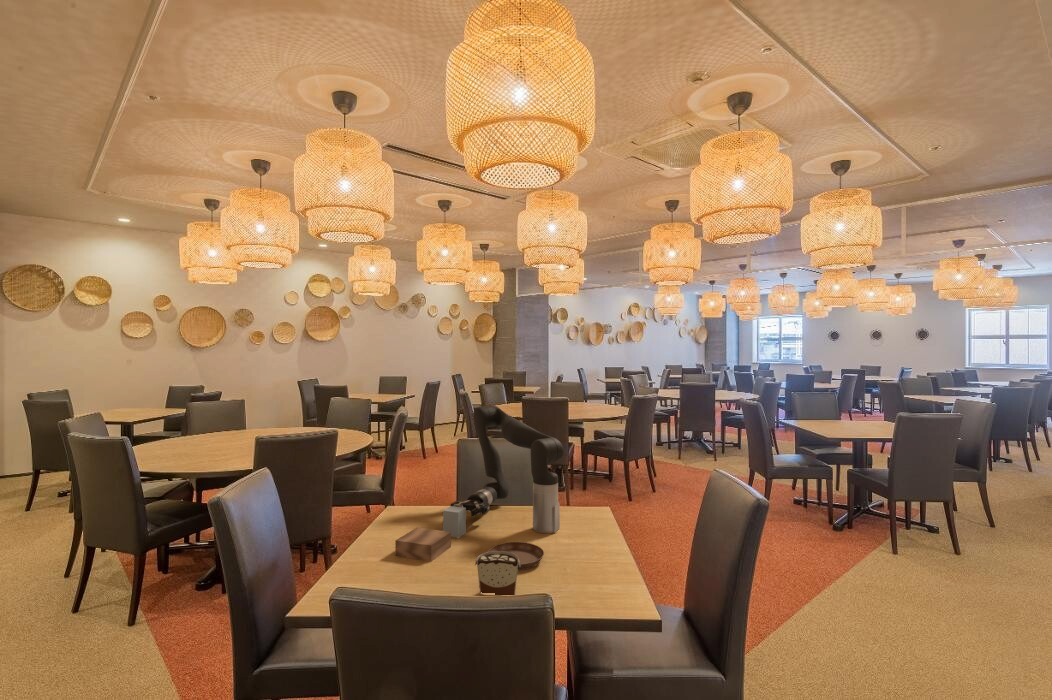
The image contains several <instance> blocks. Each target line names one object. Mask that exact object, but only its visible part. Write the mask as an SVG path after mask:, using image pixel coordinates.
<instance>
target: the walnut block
mask: <svg viewBox="0 0 1052 700" xmlns="http://www.w3.org/2000/svg"><path fill="white" fill-rule="evenodd" d="M394 543H395V544H394V545H395V546H394V547H395V553H394V557H399V558H406V559H412V560H419V561H425V562H426V561H427V562H433V561H434V560H436V559H437V558H438V557H439V556H440V555H442V554H444V553H445V552H446V551H447V550H449V549H450V548H451V547H452V537H451V532H447V531H443V530H437V529H431V528H430V529H429V528H423V527H422V528H421V527H416V528H413V529H412V530H410V531H409V532H407V533H405V534H404V535H402V536H400V537H399V538H397V539H396V540H395V542H394Z"/></svg>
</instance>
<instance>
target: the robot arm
mask: <svg viewBox="0 0 1052 700" xmlns="http://www.w3.org/2000/svg"><path fill="white" fill-rule="evenodd" d="M472 417H473V424H474V427H475V431H476V435H477V439H478V442H479V445H480V448H481V452H482V456H483V463H484V470H485V475H486V477H488V478H492V479H495V481H494V482H493V481H492V482H488V483H485V484H484V486H483V488H482V489H479V490H477V491H476V492H474V493H471V494H470V495H469V496H468V497H467V498H466V500H465V501H461V500H460V499H457V500H456V501H453V502H451V503H450V506H455V507H464V508H466V512H470V517H473V518H474V517H475V516H477V515H480V514H481V515H485V514H487V513H488V512H489V511H490V506H491V505H493V503H495V502H496V500H502V499H506V498H507V497H508V496H509V492H510V490H509V489H510V488H509V485H508V483H507V481H506V478H505V476H504V473H503V470H502V469H503V467H502V461H501V455H500V453H499V451H498V449H497V448H496V447H495V445H494V444H493V442H491V440H490V438H489V435H488V432H487V428H492V427H493V428H494V427H498V428H500V429H501V435H502V437H503V438H504V439H505V440H506V441H507V442H509V443H511V445H514V446H517V447H519V448H523V449H530V470H531V471H530V472H531V477H532V530H533V531H534V532H537V533H542V534H550V533H551V534H552V533H554V534H555V533H556V532H557V531H559V529H560V528H561V527H560V525H561V523H560V522H561V519H560V517H561V515H560V514H561V512H560V508H561V507H560V504H561V503H560V502H559V476H558V474H557V473H555V472H552V471H549V466H548V465H551V464H554V463H558V462H560V461H561V460H562V459H563V457H564V455H565V450H564V446H563V444H562V442H561V441H560V440H558V438H555V437H553V436H551V435H547V434H545V433H542V432H540V431H538V430H536V429H535V428H533V427H531V426H530V425H527V424H526V423H524V422H523V421H521V420H518V419H517V418H514V417H513V416H512V415H510V414H507V413H506V412H505V411H504V410H502V409H501V408H500V407H498V406H497V405H493V404H492V405H491V404H490V405H483V406H479V407H476V408H475V409H474V410H473V416H472Z"/></svg>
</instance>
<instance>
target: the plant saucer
mask: <svg viewBox="0 0 1052 700" xmlns="http://www.w3.org/2000/svg"><path fill="white" fill-rule="evenodd" d="M491 551H505V552H510V553H513V554H515V555H517V556H518V559H519V561H520V566H519V563H518V571H523V570H527V569H531V568H534V567H535V566H537V565H538V564H539V563H540V562H541V561H542V559H543V557H544V556H545V551H544V549H543V547H542V548H541V547H540V546H539V545H537V544H533V543H530V542H523V541H509V542H503V543H499V544H496V545H493V546H492V547H491V548H489V549H488V551H487V552H491Z"/></svg>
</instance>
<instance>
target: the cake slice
mask: <svg viewBox="0 0 1052 700" xmlns="http://www.w3.org/2000/svg"><path fill="white" fill-rule="evenodd" d="M518 563H519V566H520V561H519V559H518V556H517V555H515V554H513V553H510V552H505V551H491V552H488V551H485V552H483V553H482V554H479V555H478V556H477V557H476V560H475V564H474V566H477V577H478V586H479V594H480V593H481V592H482V593H495V595H515V596H516V589H517V577H518V571H519V570H518Z"/></svg>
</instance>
